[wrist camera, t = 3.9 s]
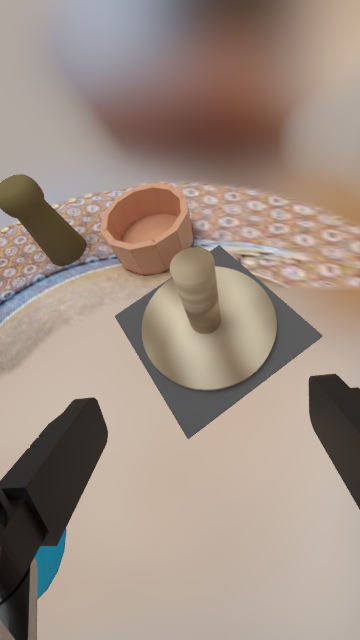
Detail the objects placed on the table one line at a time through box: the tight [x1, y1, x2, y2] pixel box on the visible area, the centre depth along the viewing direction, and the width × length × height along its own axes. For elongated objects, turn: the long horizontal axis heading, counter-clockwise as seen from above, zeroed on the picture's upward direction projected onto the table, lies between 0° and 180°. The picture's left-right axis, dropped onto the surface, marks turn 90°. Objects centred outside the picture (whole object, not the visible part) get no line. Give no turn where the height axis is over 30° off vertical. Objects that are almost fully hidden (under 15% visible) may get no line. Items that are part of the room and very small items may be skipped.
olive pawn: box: [0, 175, 86, 266], centre depth 31 cm, size 6×6×11 cm
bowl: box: [100, 183, 193, 275], centre depth 31 cm, size 11×11×5 cm
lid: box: [142, 247, 277, 391], centre depth 21 cm, size 14×14×10 cm
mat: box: [115, 245, 322, 439], centre depth 25 cm, size 16×16×1 cm
